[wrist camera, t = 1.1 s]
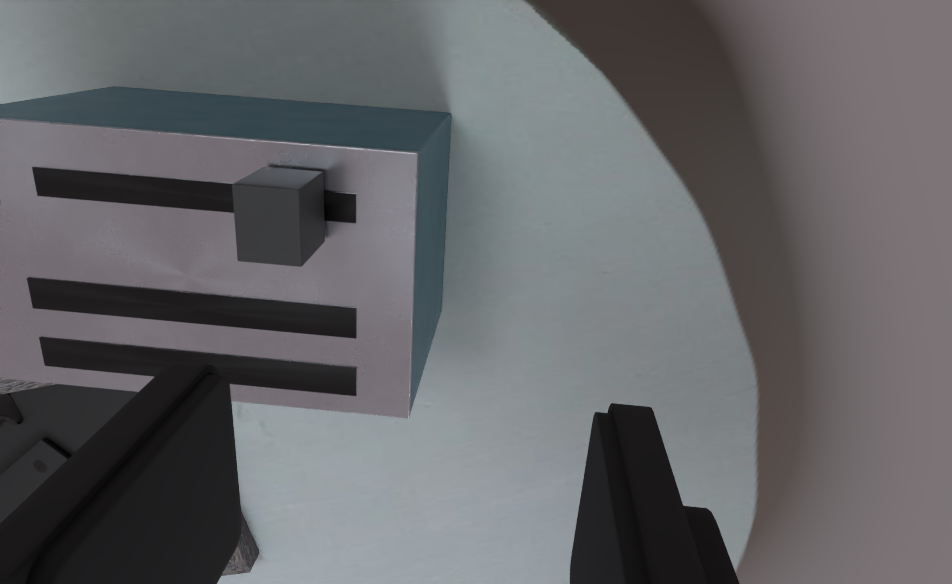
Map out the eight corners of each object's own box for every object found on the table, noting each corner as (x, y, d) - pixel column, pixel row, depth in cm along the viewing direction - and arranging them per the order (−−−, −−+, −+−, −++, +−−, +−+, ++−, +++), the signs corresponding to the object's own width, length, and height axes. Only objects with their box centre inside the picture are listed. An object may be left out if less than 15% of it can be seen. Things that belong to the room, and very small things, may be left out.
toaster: (112, 86, 31) (-66, 114, 22) (451, 112, 30) (417, 153, 21) (139, 283, 35) (-2, 379, 26) (441, 311, 34) (408, 419, 25)
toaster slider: (263, 166, 22) (231, 183, 19) (323, 171, 21) (299, 189, 19) (267, 236, 22) (237, 261, 20) (325, 242, 22) (301, 267, 20)
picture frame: (-29, 591, 45) (259, 553, 41) (-53, 616, 43) (246, 577, 40) (-164, 387, 39) (157, 324, 36) (-199, 405, 37) (137, 340, 34)
